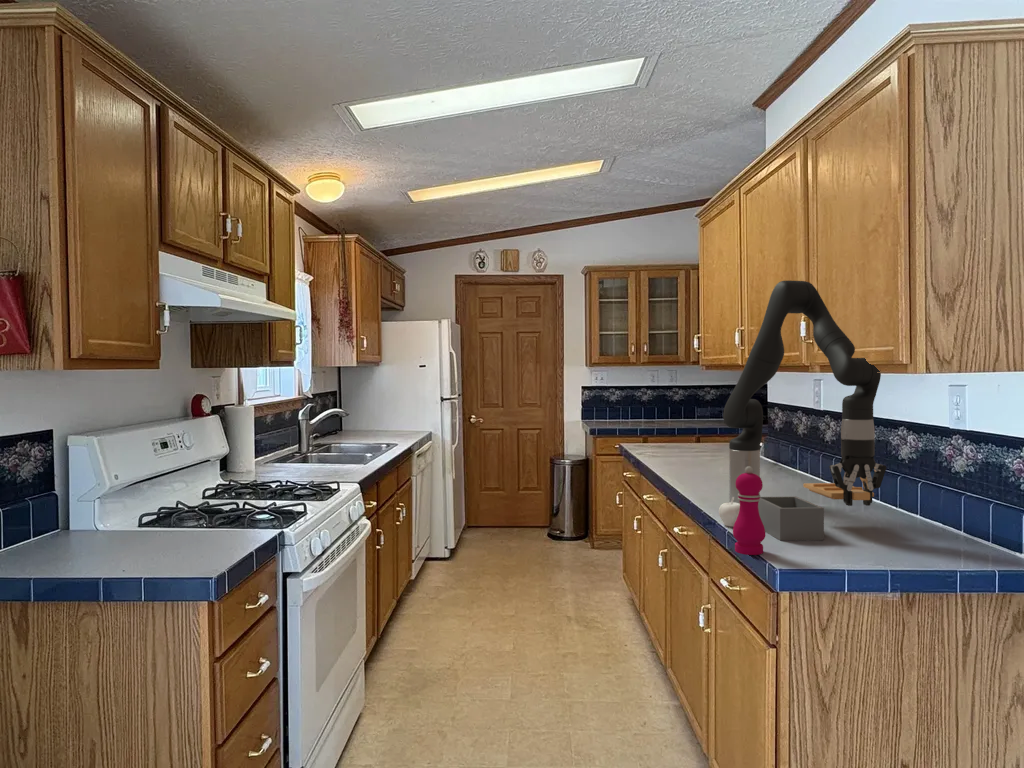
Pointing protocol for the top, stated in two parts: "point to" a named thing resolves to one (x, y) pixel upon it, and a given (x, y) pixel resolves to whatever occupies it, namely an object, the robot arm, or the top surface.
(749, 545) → the pepper mill
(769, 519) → the tub
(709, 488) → the top surface
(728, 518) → the apple
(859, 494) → the wooden paddle board
